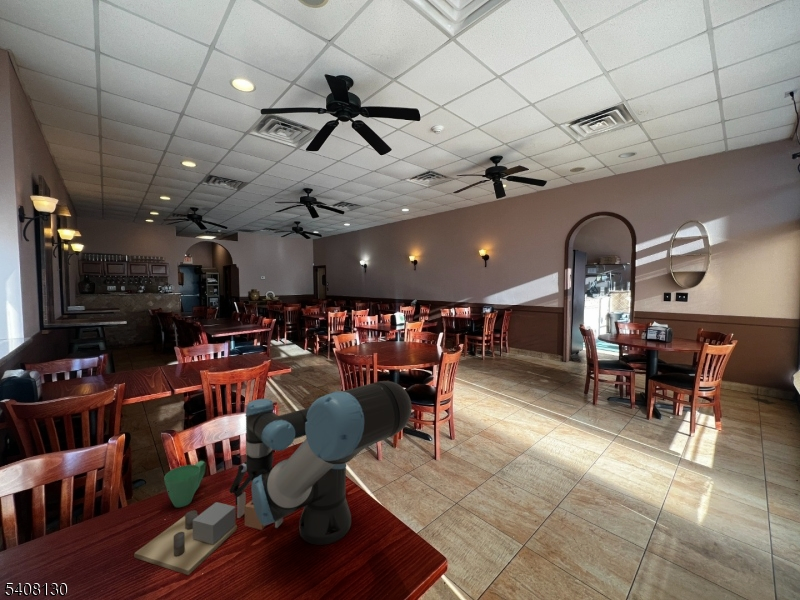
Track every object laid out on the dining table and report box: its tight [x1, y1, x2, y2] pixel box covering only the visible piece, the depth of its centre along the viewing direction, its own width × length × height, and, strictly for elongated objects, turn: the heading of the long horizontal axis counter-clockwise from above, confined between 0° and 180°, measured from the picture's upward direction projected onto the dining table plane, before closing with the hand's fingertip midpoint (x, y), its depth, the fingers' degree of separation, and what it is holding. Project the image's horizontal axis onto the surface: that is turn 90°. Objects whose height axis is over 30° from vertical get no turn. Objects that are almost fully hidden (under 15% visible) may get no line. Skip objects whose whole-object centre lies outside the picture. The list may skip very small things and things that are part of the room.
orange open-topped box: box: [244, 499, 267, 531], centre depth 100 cm, size 6×6×6 cm
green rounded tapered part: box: [163, 460, 207, 508], centre depth 110 cm, size 15×10×10 cm
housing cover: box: [193, 501, 237, 544], centre depth 94 cm, size 7×8×5 cm
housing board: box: [133, 509, 238, 576], centre depth 91 cm, size 18×16×6 cm
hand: (259, 520), depth 101 cm, fingers open, 13 cm apart
